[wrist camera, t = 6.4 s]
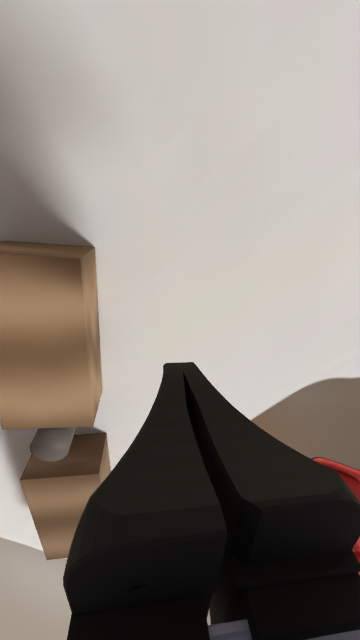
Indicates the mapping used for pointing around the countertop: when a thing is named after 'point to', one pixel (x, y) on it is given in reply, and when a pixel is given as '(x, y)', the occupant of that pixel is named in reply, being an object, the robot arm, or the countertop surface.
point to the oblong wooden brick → (64, 490)
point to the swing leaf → (49, 343)
